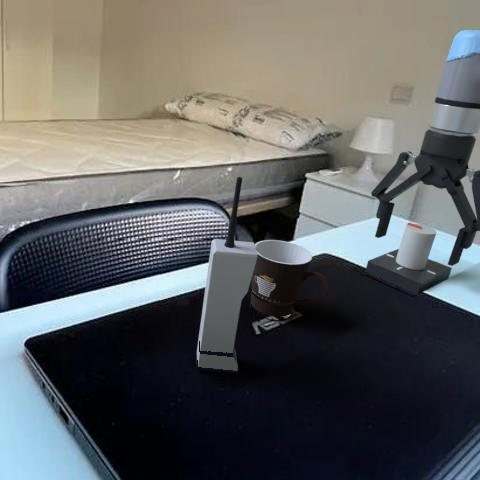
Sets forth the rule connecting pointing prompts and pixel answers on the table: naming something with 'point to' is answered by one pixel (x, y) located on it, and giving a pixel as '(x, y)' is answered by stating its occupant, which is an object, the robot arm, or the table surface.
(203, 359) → the vintage mobile phone
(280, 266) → the coffee mug
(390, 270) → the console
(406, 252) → the timer knob
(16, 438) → the table surface
